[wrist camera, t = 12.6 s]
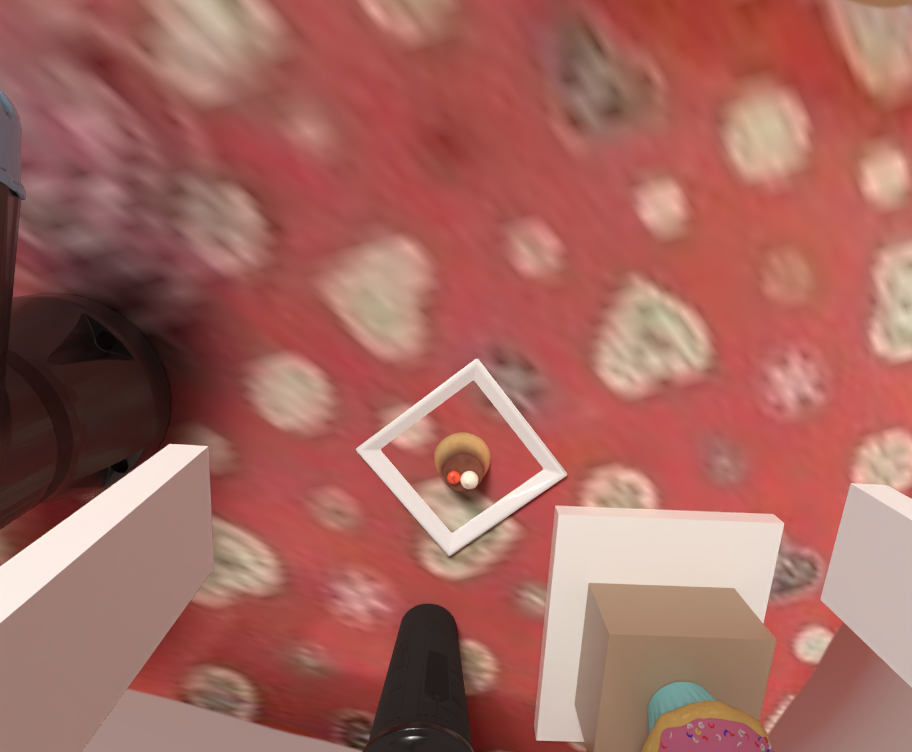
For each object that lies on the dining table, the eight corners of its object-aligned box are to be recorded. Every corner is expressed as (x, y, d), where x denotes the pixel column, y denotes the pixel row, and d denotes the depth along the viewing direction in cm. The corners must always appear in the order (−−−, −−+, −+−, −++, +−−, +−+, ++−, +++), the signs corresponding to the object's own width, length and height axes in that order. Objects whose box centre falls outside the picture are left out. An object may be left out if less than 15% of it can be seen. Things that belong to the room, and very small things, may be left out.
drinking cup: (369, 607, 47) (308, 869, 27) (450, 576, 46) (449, 820, 26) (406, 676, 48) (374, 968, 29) (485, 647, 48) (508, 926, 28)
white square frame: (357, 444, 44) (346, 468, 39) (476, 354, 42) (479, 368, 37) (448, 550, 46) (448, 584, 41) (565, 469, 44) (578, 495, 40)
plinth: (533, 725, 50) (547, 808, 42) (555, 505, 44) (575, 557, 37) (729, 732, 50) (776, 815, 43) (773, 514, 45) (835, 566, 37)
